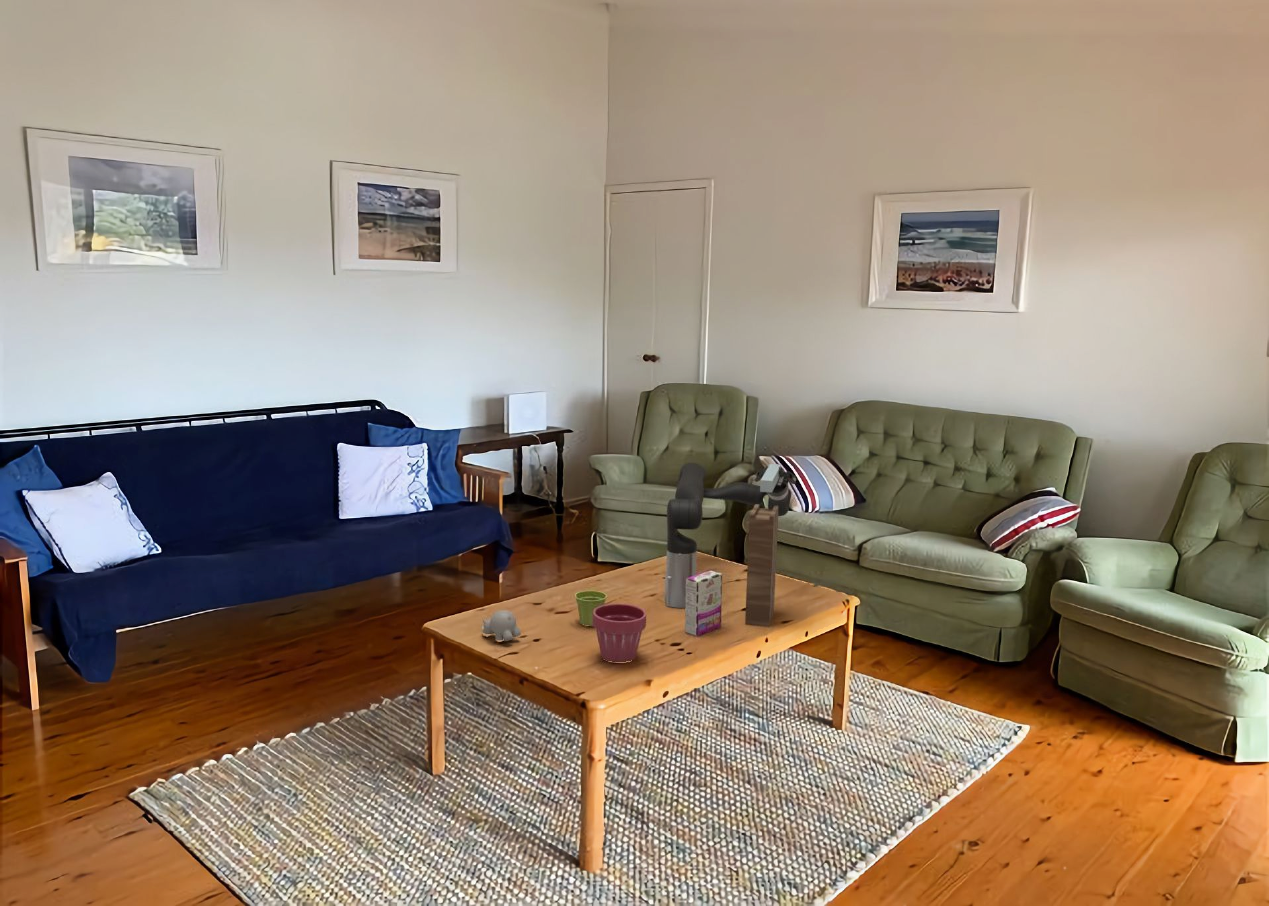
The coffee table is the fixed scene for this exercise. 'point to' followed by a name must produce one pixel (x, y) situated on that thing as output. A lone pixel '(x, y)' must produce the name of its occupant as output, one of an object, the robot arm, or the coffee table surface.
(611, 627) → the plant pot
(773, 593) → the post
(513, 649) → the coffee table surface
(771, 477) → the rail
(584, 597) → the plant pot
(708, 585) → the candy bar box
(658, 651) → the coffee table surface
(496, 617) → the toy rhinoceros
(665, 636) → the coffee table surface
